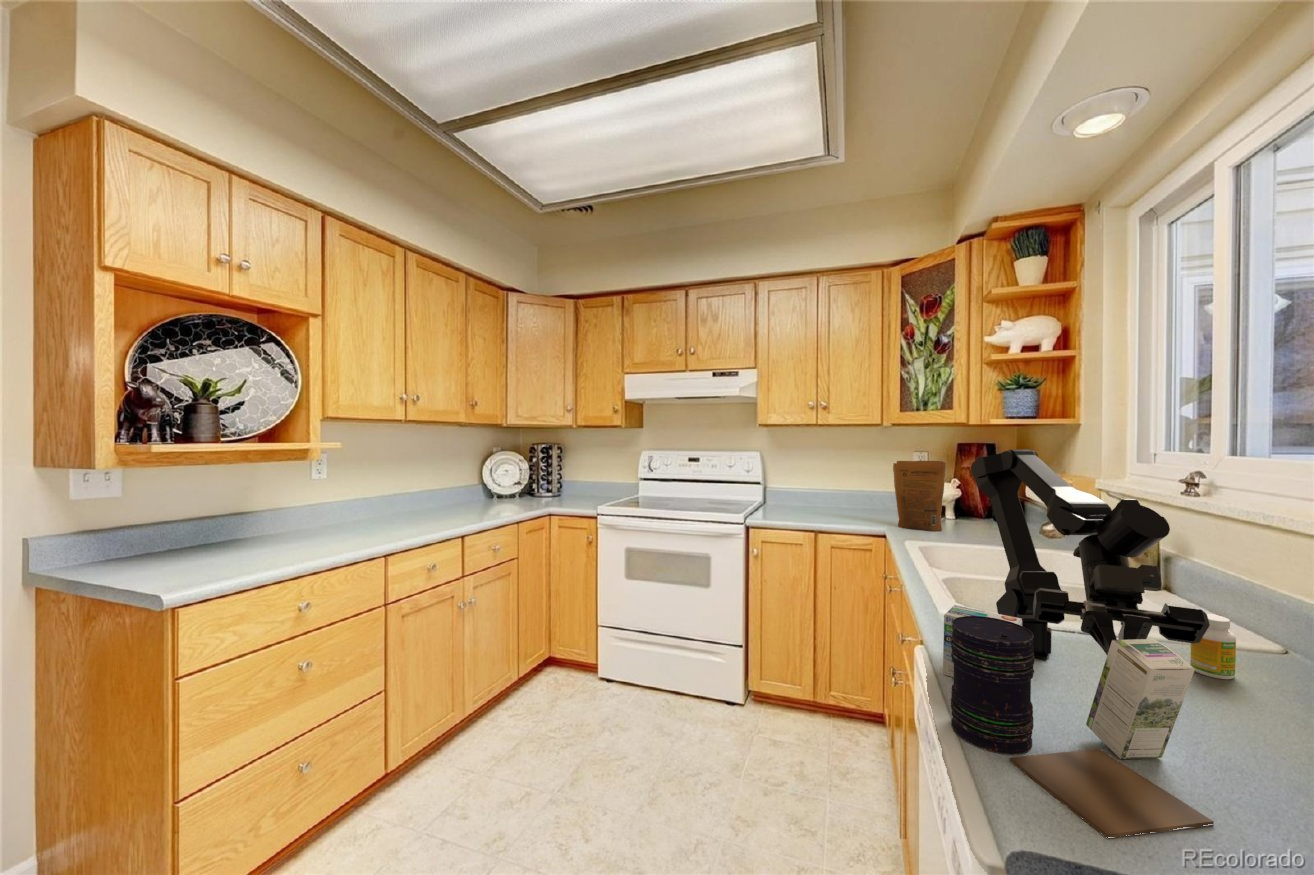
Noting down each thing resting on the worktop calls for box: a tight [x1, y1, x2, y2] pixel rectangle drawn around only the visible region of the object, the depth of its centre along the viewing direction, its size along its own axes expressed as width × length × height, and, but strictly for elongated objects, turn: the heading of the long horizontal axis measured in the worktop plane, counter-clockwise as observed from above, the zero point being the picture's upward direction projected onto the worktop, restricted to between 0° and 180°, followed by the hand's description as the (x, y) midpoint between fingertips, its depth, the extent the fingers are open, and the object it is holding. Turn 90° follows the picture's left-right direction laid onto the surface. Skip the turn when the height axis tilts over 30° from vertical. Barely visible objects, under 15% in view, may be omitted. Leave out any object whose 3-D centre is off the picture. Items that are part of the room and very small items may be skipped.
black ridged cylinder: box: [950, 616, 1035, 756], centre depth 75 cm, size 10×10×15 cm
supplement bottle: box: [1189, 613, 1237, 680], centre depth 93 cm, size 5×5×10 cm
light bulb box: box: [942, 604, 1022, 678], centre depth 91 cm, size 11×7×11 cm, turn 47°
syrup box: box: [1085, 638, 1196, 760], centre depth 70 cm, size 6×6×14 cm
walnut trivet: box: [1009, 748, 1214, 839], centre depth 63 cm, size 13×13×1 cm
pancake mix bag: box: [892, 460, 947, 532], centre depth 216 cm, size 7×19×28 cm, turn 55°
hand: (1123, 672), depth 72 cm, fingers closed
